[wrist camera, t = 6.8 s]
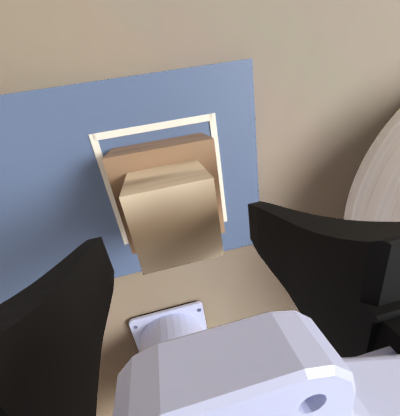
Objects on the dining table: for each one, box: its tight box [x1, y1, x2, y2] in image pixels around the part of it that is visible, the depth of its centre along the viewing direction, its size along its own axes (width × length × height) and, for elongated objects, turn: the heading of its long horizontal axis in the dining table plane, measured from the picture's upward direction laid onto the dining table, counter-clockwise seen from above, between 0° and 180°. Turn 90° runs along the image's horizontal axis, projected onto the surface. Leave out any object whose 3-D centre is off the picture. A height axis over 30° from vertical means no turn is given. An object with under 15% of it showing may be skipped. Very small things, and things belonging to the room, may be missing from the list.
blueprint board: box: [0, 59, 259, 304], centre depth 19 cm, size 16×28×1 cm, turn 98°
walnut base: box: [102, 132, 225, 254], centre depth 18 cm, size 7×7×4 cm
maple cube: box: [119, 159, 224, 275], centre depth 14 cm, size 4×4×4 cm
